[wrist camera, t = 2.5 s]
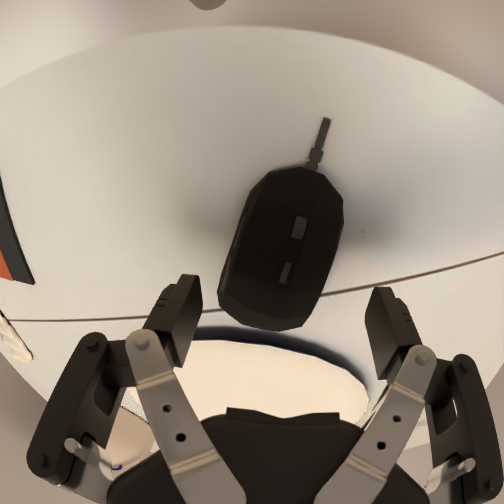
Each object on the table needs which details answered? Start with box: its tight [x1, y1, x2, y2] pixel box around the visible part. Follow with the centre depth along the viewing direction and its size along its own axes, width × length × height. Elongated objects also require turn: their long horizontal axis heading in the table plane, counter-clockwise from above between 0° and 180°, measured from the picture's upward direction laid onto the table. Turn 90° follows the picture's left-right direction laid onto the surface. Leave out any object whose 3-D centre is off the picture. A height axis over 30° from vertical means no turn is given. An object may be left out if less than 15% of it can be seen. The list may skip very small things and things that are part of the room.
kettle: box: [106, 406, 155, 470], centre depth 33 cm, size 20×21×18 cm
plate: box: [127, 339, 369, 424], centre depth 28 cm, size 29×29×2 cm
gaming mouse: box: [217, 118, 344, 332], centre depth 15 cm, size 6×15×4 cm, turn 165°
